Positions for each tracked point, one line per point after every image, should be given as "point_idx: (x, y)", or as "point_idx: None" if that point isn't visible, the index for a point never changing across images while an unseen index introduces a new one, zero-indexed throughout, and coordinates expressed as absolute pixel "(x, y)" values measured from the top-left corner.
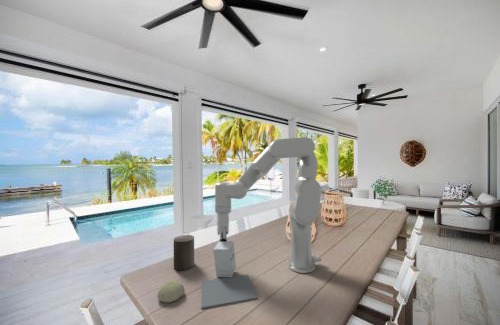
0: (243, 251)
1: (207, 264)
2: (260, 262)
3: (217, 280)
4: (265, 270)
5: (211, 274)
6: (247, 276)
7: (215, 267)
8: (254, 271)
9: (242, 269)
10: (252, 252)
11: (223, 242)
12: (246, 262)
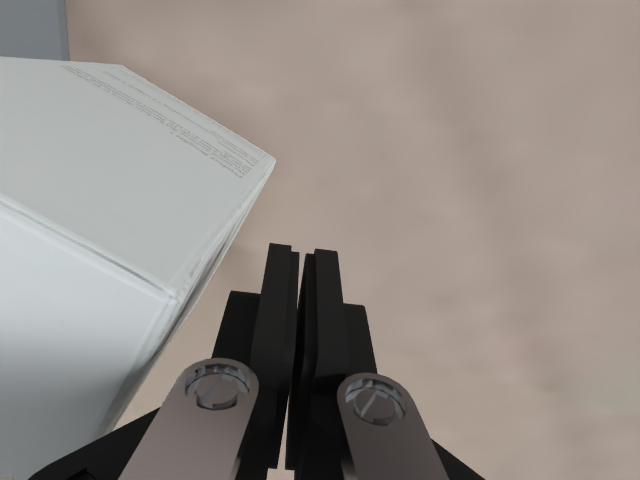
0: (541, 418)
1: (473, 16)
2: (277, 468)
3: (31, 58)
4: None
5: (214, 21)
6: None
7: (51, 61)
8: (151, 395)
9: (213, 327)
10: (476, 469)
11: (44, 390)
12: None
